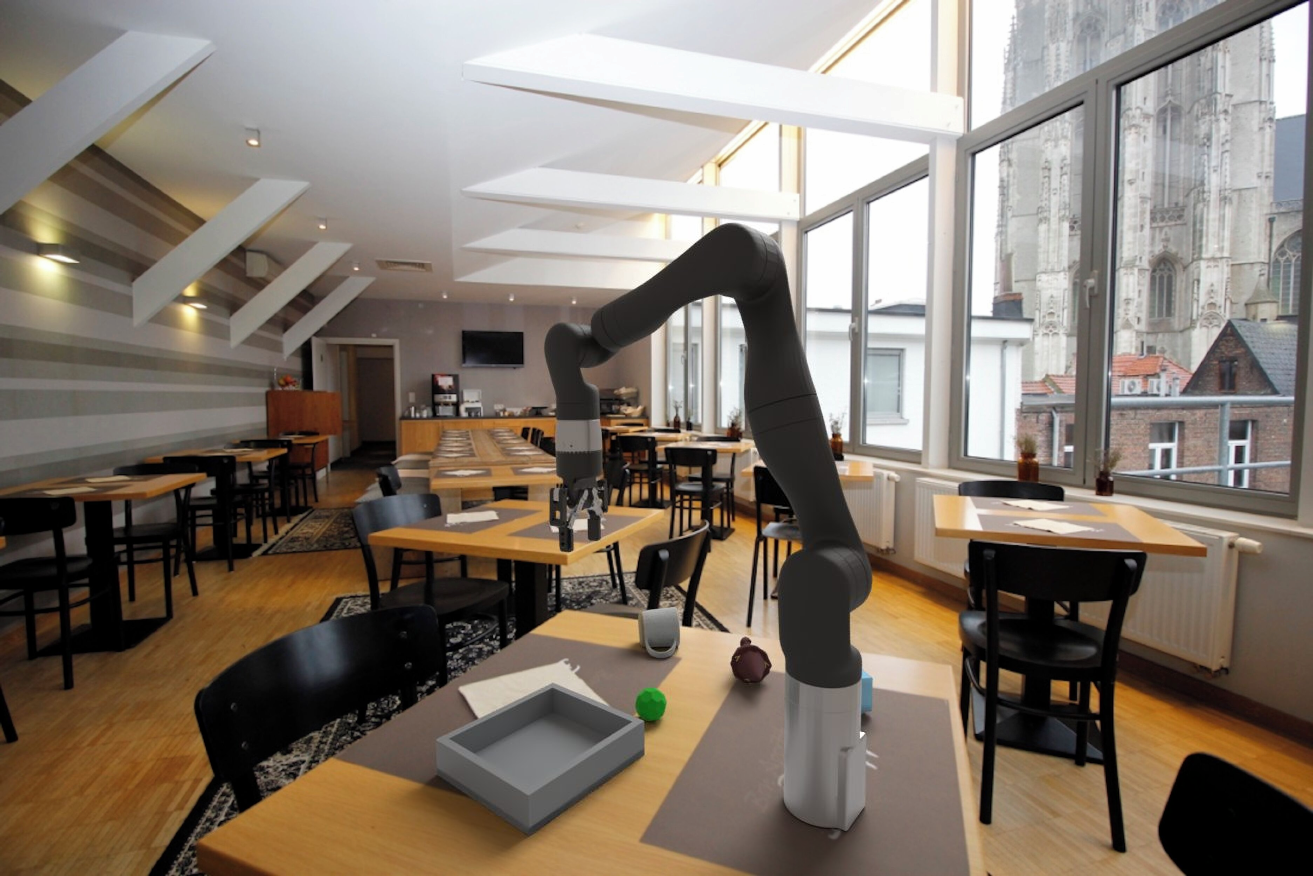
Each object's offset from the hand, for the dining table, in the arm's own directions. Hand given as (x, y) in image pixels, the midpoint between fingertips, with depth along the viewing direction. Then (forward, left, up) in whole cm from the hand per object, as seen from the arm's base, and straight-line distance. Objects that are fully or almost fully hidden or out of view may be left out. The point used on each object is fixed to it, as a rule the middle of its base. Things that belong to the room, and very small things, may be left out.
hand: (581, 545), depth 104 cm
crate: (-8, +16, -27) cm, 32 cm away
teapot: (-34, -26, -27) cm, 51 cm away
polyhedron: (-12, -3, -27) cm, 30 cm away
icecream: (-18, -24, -27) cm, 40 cm away
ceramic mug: (+4, -26, -27) cm, 38 cm away
